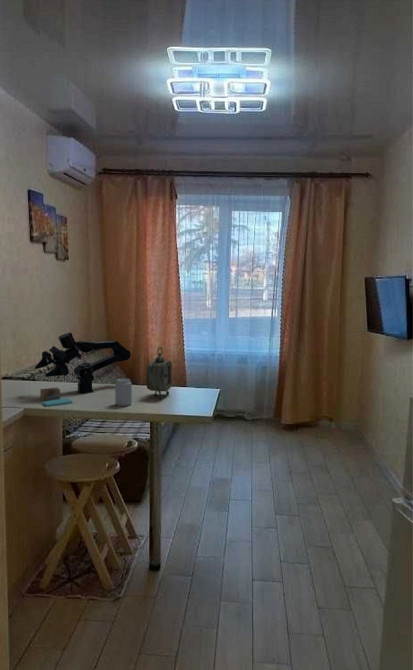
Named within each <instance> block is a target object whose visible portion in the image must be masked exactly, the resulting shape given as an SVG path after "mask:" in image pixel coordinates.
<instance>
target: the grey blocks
mask: <svg viewBox="0 0 413 670" xmlns="http://www.w3.org/2000/svg"><path fill="white" fill-rule="evenodd" d="M58 399H61V394H60V395H59V394H57V395H49V396H46V401H50V400H58Z"/></svg>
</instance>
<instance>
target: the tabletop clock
mask: <svg viewBox="0 0 413 670" xmlns="http://www.w3.org/2000/svg"><path fill="white" fill-rule="evenodd" d="M159 350H161V351H160V352H159ZM156 354H157V356H156V357H155V359H154V360H153V361H152V362H150V363H148V364H147V366H146V380H145V381H146V389H148V390H149V391H151V392H152V391H155V393H153V396H154V397H157V396H158V394H159V399H160V400H162V399H163V395H162V392H166V395H169V394H170V391H169V390H170V389H171V387H172V383H173V367H172V366H173V364H172V361H170V360H165V357H164V356H162V354H163V348H162V346H161V347H158V348H157V352H156ZM157 393H158V394H157Z"/></svg>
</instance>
